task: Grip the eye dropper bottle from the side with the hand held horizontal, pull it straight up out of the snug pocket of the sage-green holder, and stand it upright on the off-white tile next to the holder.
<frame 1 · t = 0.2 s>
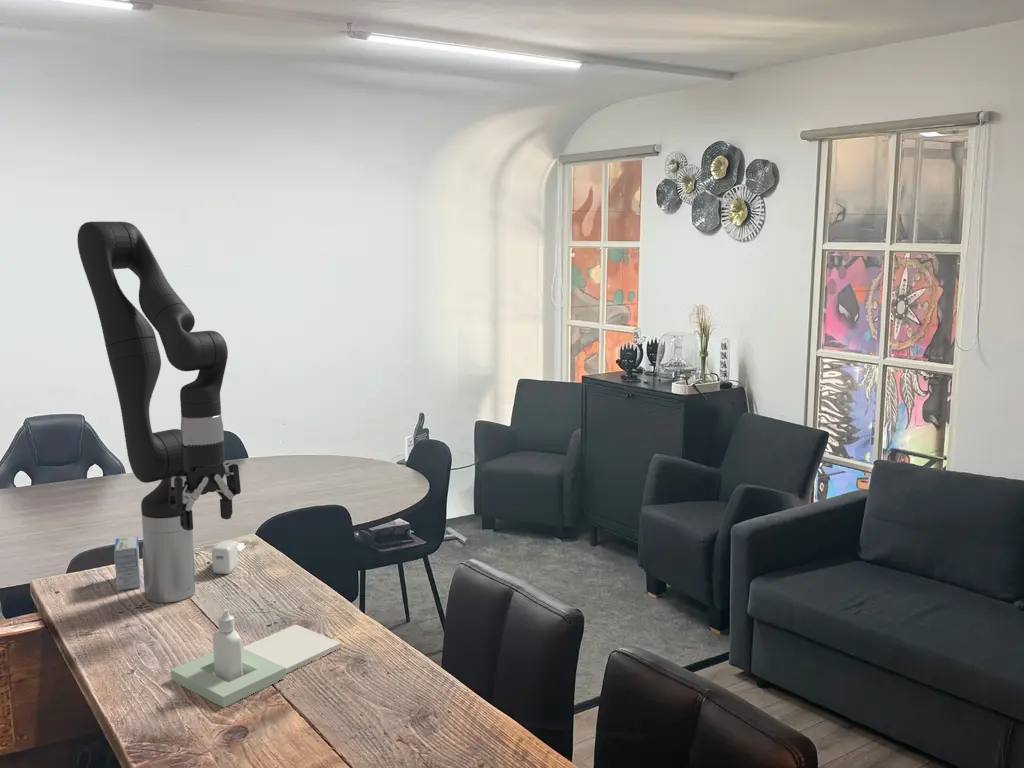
hand: (207, 524, 173), 18 cm above the table, tool pointing down, fingers open, 8 cm apart
eye dropper bottle: (228, 680, 151), on the table
holder: (228, 678, 151), on the table
medicine box: (128, 583, 190), on the table
power adapter: (230, 566, 200), on the table
tile: (291, 650, 161), on the table
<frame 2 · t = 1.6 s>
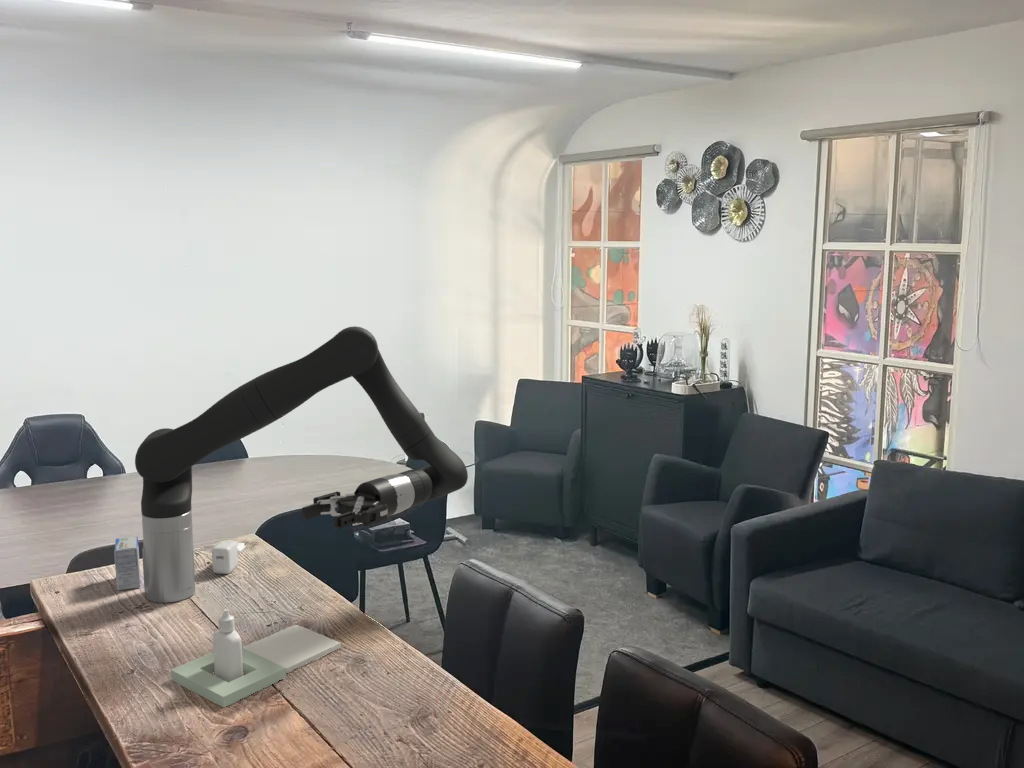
hand: (319, 518, 162), 22 cm above the table, tool horizontal, fingers open, 8 cm apart
nothing on the table moved.
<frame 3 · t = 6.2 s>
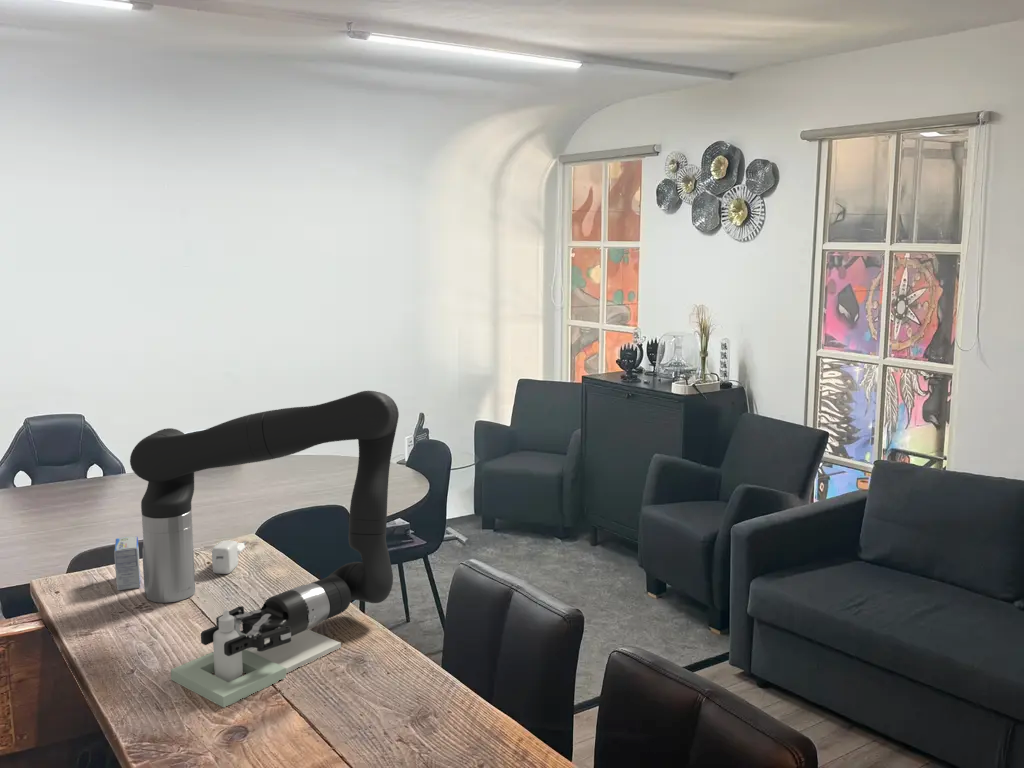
hand: (214, 644, 148), 7 cm above the table, tool horizontal, fingers closed on eye dropper bottle, 5 cm apart
eye dropper bottle: (228, 680, 151), on the table, touching gripper
everything else where it was.
when the fingers open (9 cm above the table, at t = 11.7 s): eye dropper bottle stays where it is, resting on tile.
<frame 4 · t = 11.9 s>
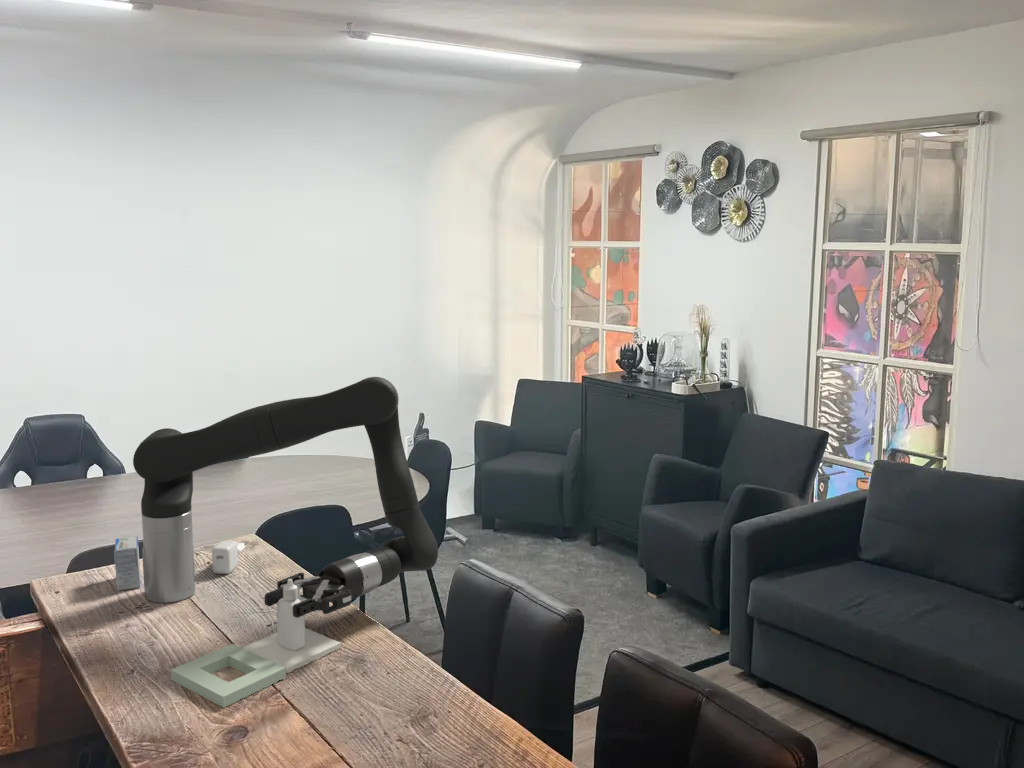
hand: (280, 606, 158), 9 cm above the table, tool horizontal, fingers open, 7 cm apart
eye dropper bottle: (291, 645, 161), point 1 cm above the table, touching tile
everything else where it was.
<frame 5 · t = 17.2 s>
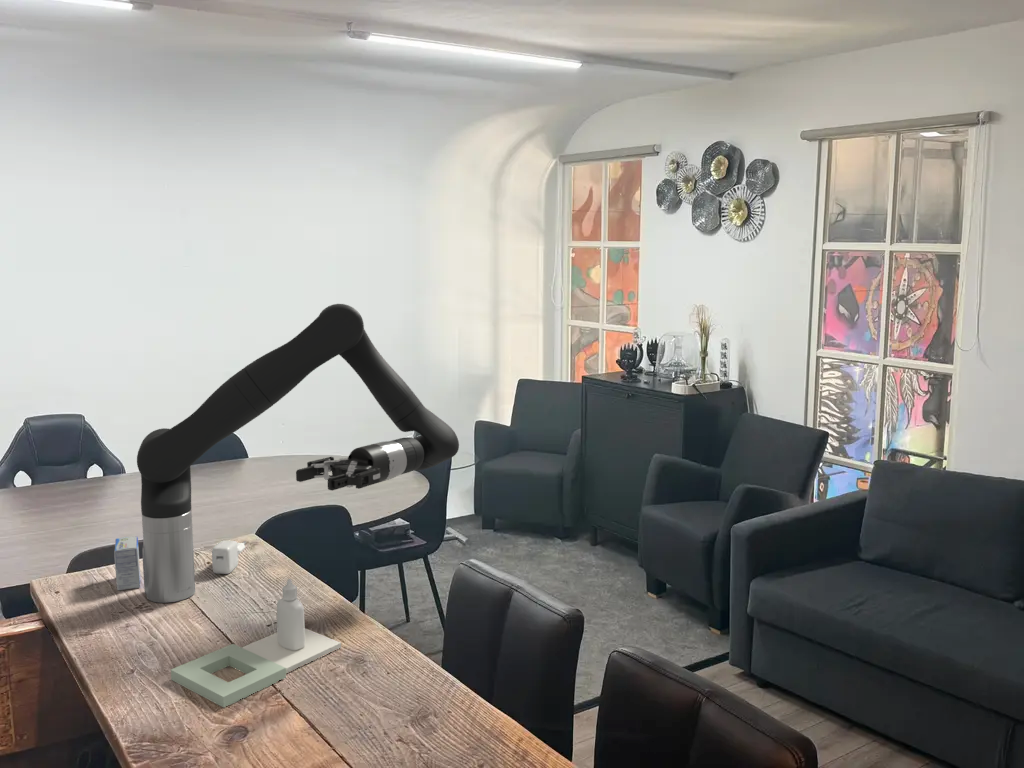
hand: (313, 480, 166), 28 cm above the table, tool horizontal, fingers open, 8 cm apart
nothing on the table moved.
at the end: eye dropper bottle inside the target area on the tile (0.2 cm from its centre), point 0.8 cm above the tile's base; eye dropper bottle tilted 0°; the gripper is holding nothing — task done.
